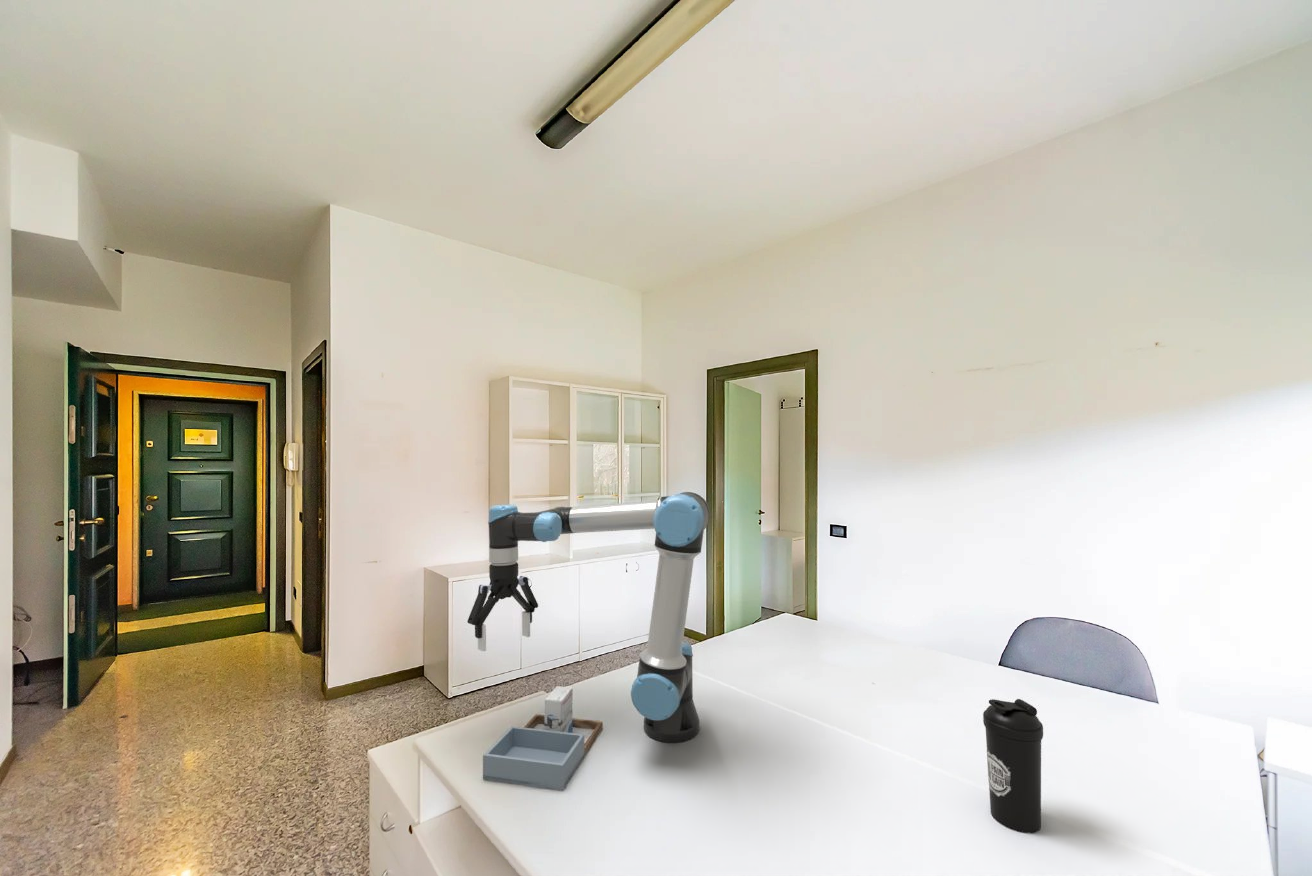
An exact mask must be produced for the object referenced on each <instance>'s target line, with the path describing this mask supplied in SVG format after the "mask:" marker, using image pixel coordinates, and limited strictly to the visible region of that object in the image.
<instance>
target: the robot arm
mask: <svg viewBox="0 0 1312 876" xmlns="http://www.w3.org/2000/svg"><path fill="white" fill-rule="evenodd" d="M710 519H711V510H710V506H709V504H708V502H707V501H706V499H705V498H704V497H702V496H701V495H700V494H698V493H695V492H692V491H685V492H680V493H677V494H673V495H666V496H660V497H659V498H658V500H650V501H639V502H638V501H635V502H623V503H622V502H621V503H609V504H608V503H606V504H593V505H591V504H590V505H580V506H579V505H578V506H557V507H554V508H550V509H545V510H542V511H536V512H520V511H519V509H518V506H517V505H516V504H497V505H492V506H490V508H489V511H488V522H487V524H488V537H489V538H488V540H489V543H488V544H489V546H488V547H489V548H488V551H489V553H488V554H489V557H488V558H489V563H490V564H489V566H488V567H489V568H488V569H489V571H488V572H489V573H488V574H489V575H488V576H489V580H490V581H489V584H486V585H485V584H479V585H478V592H477V595H476V599H475V601H474V604H473V606H472V608H471V611H470V613H469V616H468V618H467V624H470V625H472V626H474V636H475V638H476V639H477V649H478V650H479V651H481V652H486V651H487V625H486V624H484V623H485V621H486V620H487V618H488V617H489V615H490V613H491V612H492V610H493V609H494V606H495V605H496V604H497V603H498V602H499V601H500V600H505V599H506V598H511V597H513V599H514V600H515V601H516V602H517V603H518V604H519V605H520V606H521V608H522V609H523V610H524V611H521V630H522V632H521V635H522V636H523V637H526V638H530V637H531V624H532V622H533V613H534V612H535V610H536V609H537V608H538V607H539V603H538V601H537V599H536V597H535V595H534V594H533V591H532V589H531V587H530V583H529V578H528V576H522V575H520V576H519V563H518V561H519V542H521V541H522V542H541V543H547V542H554V541H555V542H556V541H557V540H558V539H559V537H560V536H561V535H569V534H571V535H572V534H582V533H583V534H584V533H600V532H619V531H638V530H653V529H654V531H655V538H654V539H655V540H654V547H655V549H656V550H657V552H658V553H659V557H658V563H657V572H656V578H655V579H656V580H655V586H654V593H653V601H652V606H651V607H652V609H651V615H650V616H651V617H650V624H649V630H648V631H649V632H648V639H647V647H646V648H645V649H643V650H642V651H641V652H640V654H639V660H638V667H637V675H636V678H635V679H634V681H633V683H632V685H631V691H630V698H631V703H632V705H633V706H634V708H635V709H636V711H637V712H638V713H639V714H640V715H641V716H642V717H644V718H643V731H644V733H645V734H646V736H648V737H649V738H651V739H653V740H656V741H659V742H664V743H681V742H686V741H688V740H690V739H692V738H694V737H696V736H697V735H698V734H699V732H700V727H701V726H700V717H699V714H698V712H697V708H696V705H695V702H694V695H693V694H694V692H693V691H694V689H693V657H694V654H693V647H692V645H691V644H690V642H687V641H684V636H685V628H686V620H687V614H688V613H687V612H688V605H689V598H690V590H691V583H692V575H693V567H694V561H695V560H694V559H695V558H697V556H698V555H700V554H701V552H702V547H703V538H704V533H705V532H704V531H705V529H706V528H707V527H708V525H709V522H710ZM518 576H519V578H518ZM518 586H520V588H521V590H522V592H523V594H524V597H523V595H522V594H521V592H520V591H519V589H518ZM488 594H489V595H488Z"/></svg>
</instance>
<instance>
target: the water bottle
mask: <svg viewBox="0 0 1312 876" xmlns="http://www.w3.org/2000/svg"><path fill="white" fill-rule="evenodd" d="M988 704H990V705H988V706H987V708H986V709H985V710H984V711H983V714H982V717H983V718H982V722H983V726H984V728H985V740H986V742H985V743H986V758H987V777H988V786H989V787H988V789H989V790H988V791H989V805H990V806H989V807H990V808H989V809H990V814H991V816H992V818H993V819H994V820H995V821H996V822H997V823H999V824H1000V825H1002V826H1004V828H1007V829H1010V830H1013V831H1015V832H1018V833H1024V834H1034V833H1035V834H1036V833H1038V832H1039V831H1041V829H1042V740H1043V738H1044V725H1043V723H1042V722H1041V720H1040V719H1039V718H1038V716H1037V714H1038V710H1037V708H1036V707H1034V706H1033V705H1032V704H1030V703H1028V702H1027V701H1024V700H1023V699H1021V698H1017V699H1015V701H1014V702H1012V701H1005V700H1000V699H995V698H994V699H993V698H992V699H989V700H988Z"/></svg>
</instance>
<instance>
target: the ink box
mask: <svg viewBox="0 0 1312 876" xmlns="http://www.w3.org/2000/svg"><path fill="white" fill-rule="evenodd" d="M573 688H574V687H572V686H571V687H570V686H560V685H557V686H555V687H554V688H553V690H552V691H551V692H550V693H549V694H548V695H547V697H546V698H545V699H544V715H545V720H544V724H543V725H544V726H543V730H550V731H558V732H567V733H572V731H573V727H572V718H573V694H574V693H573V692H574V691H573Z"/></svg>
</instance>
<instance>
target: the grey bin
mask: <svg viewBox="0 0 1312 876" xmlns="http://www.w3.org/2000/svg"><path fill="white" fill-rule="evenodd" d="M585 757H586V756H585V734H584V733H583V734H582V733H575V732H571V733H567V732H558V731H550V730H544V729H539V728H533V729H532V728H524V726H522V727H521V726H513V725H512V726H510V727H509V728H508V729H507V730H506V731H505V733H503V734H502V735H501V736H500V737H499V739H497V740H496V742H495V743H493V744H492V745H491V746H490V748H488V750H487V751H485V753H484V754H483V755H482V780H483V781H491V782H496V783H497V782H498V783H504V784H511V785H518V786H526V787H532V788H539V789H546V790H554V791H561V792H564V790H565V788H566V787H567V785H568V783H569V782H570V780H572V777H573V776H574V774H575V773H576V771H577V770H578V769H579V766H580V765H581V763H582V762H583V760H584V759H585Z"/></svg>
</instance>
